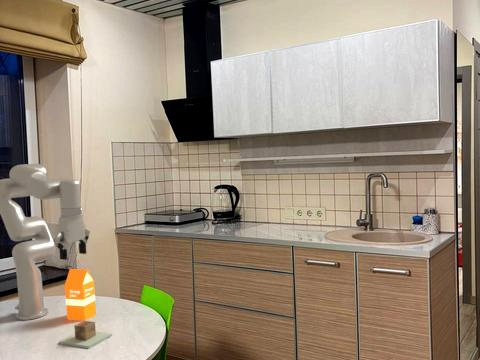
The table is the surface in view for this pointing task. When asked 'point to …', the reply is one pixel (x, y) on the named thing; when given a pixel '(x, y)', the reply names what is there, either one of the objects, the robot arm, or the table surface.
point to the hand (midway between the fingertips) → (73, 256)
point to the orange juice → (80, 295)
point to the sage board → (85, 344)
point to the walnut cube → (85, 330)
